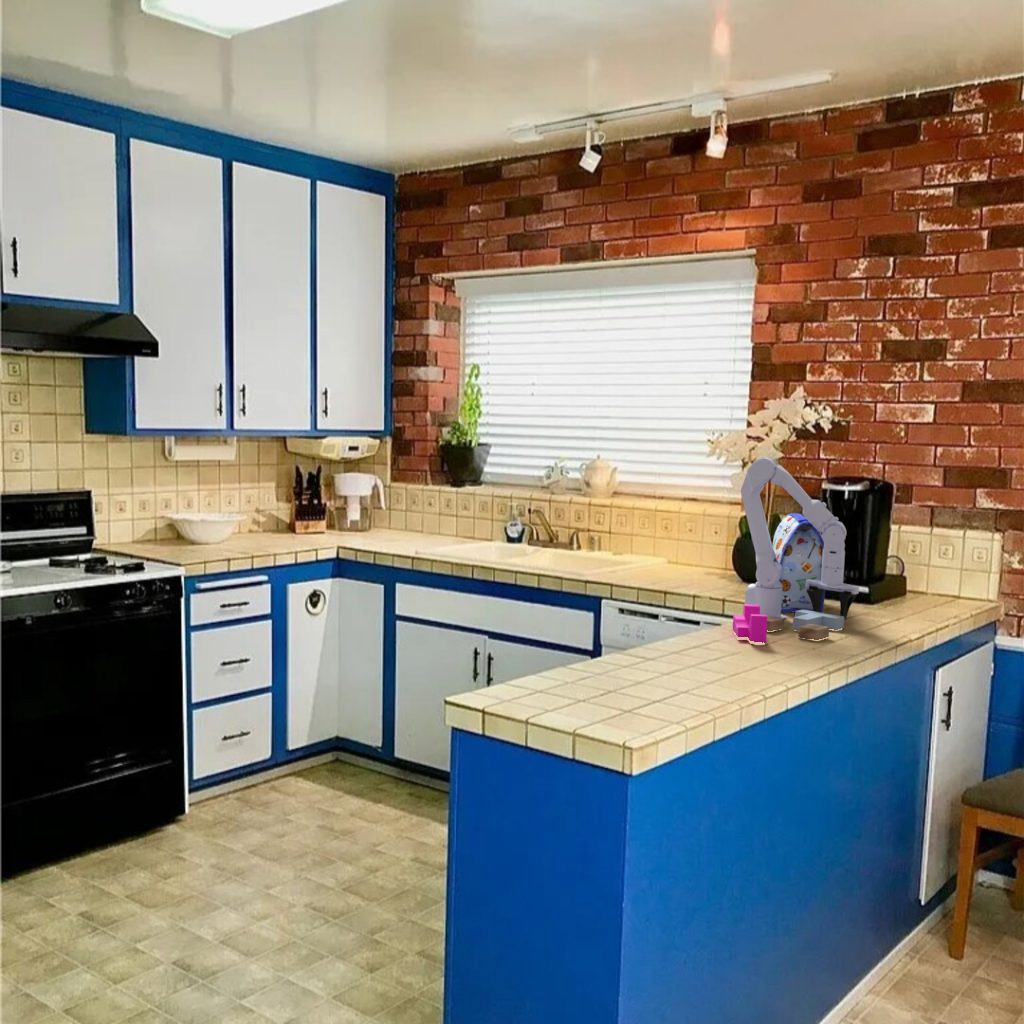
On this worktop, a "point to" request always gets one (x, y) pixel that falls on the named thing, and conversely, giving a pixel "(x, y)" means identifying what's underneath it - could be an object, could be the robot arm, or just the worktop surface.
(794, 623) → the T block
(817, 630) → the walnut slot
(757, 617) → the toy block
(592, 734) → the worktop surface
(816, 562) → the lunch bag
